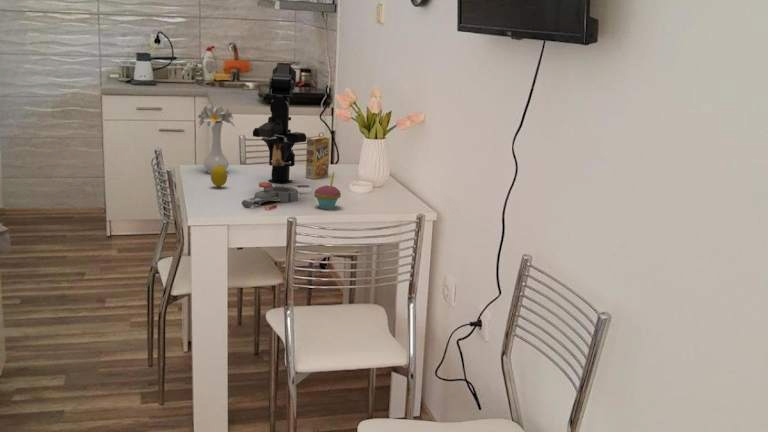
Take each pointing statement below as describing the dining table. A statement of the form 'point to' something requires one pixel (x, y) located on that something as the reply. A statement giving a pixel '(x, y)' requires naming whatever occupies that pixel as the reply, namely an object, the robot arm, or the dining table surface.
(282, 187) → the valve fitting
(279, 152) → the pipe stub
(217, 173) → the lemon
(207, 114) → the flower vase
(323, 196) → the cupcake
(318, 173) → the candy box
